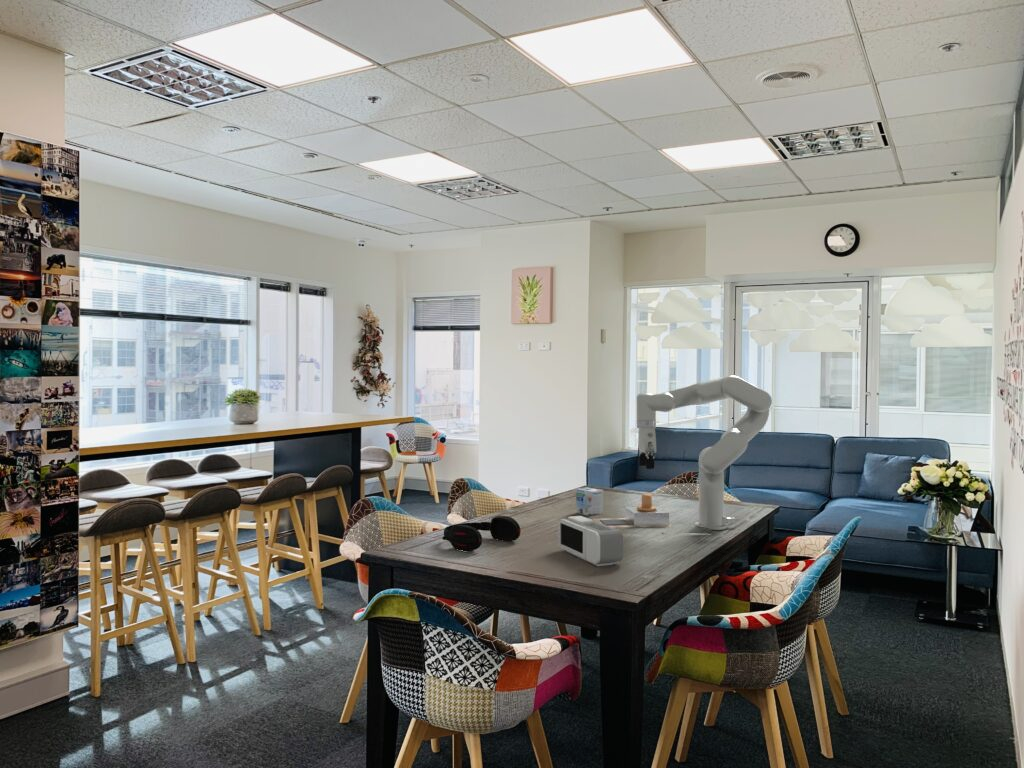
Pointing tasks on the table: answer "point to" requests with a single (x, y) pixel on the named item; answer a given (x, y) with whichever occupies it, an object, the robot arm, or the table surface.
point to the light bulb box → (589, 501)
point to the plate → (639, 519)
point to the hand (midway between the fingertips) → (646, 467)
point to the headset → (471, 539)
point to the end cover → (646, 503)
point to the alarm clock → (591, 540)
